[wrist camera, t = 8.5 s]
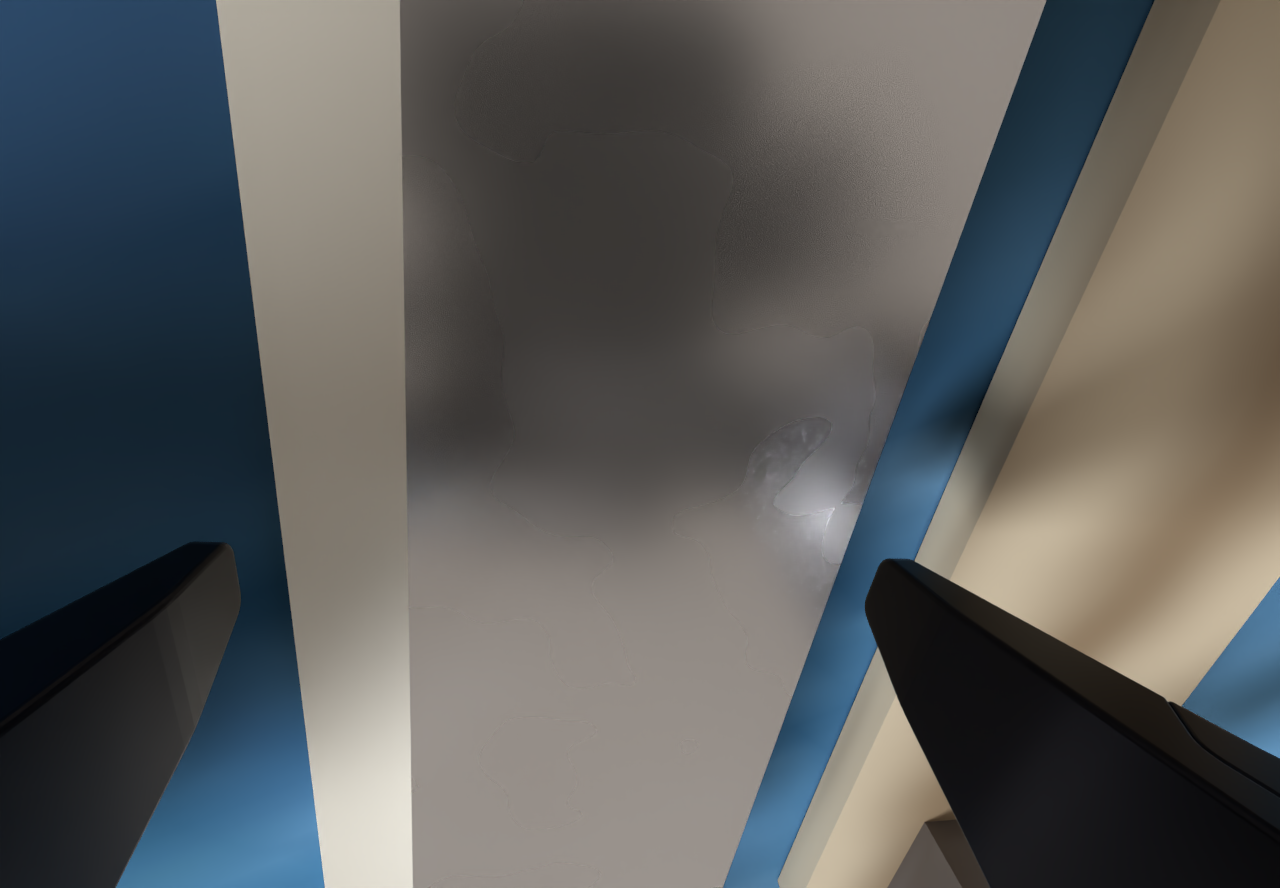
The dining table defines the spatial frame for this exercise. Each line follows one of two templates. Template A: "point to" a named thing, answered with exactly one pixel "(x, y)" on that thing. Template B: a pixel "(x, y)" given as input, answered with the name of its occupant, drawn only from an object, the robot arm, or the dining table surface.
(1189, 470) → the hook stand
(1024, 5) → the rail
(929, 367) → the dining table surface
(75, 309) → the dining table surface
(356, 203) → the board
